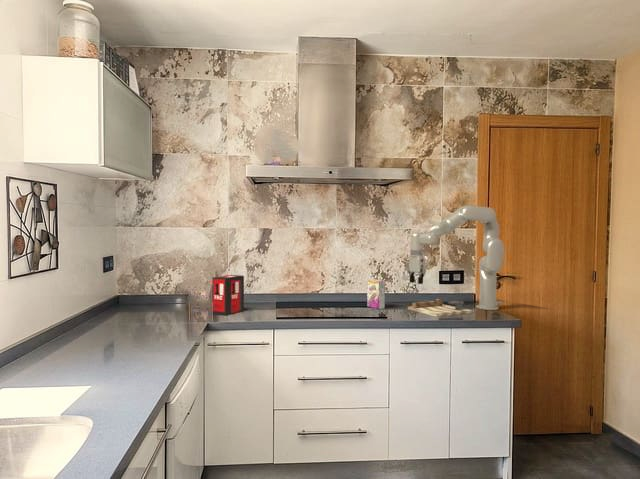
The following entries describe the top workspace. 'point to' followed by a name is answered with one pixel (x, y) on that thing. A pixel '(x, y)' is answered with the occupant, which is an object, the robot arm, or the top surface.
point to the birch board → (440, 310)
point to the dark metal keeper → (457, 304)
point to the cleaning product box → (228, 294)
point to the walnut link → (427, 303)
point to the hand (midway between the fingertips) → (416, 282)
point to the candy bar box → (376, 294)
